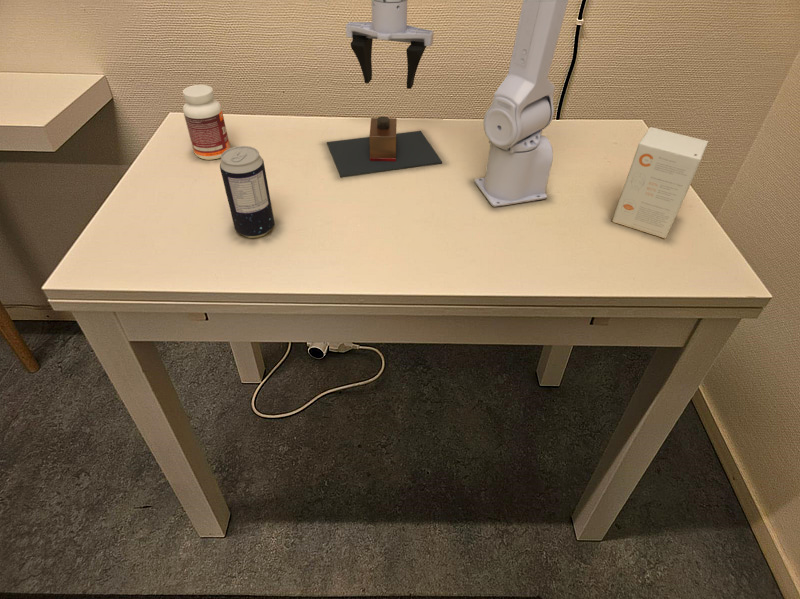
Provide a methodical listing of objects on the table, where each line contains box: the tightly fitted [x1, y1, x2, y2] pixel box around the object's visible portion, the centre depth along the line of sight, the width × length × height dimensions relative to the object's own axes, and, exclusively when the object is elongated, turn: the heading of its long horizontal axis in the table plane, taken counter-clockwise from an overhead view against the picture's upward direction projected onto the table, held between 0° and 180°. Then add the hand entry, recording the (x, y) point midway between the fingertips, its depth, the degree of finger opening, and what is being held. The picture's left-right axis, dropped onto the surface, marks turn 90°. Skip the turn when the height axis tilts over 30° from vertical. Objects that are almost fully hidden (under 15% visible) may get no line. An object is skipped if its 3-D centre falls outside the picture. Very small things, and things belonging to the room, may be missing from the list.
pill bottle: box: [182, 84, 231, 161], centre depth 90 cm, size 6×6×11 cm
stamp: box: [368, 115, 397, 161], centre depth 92 cm, size 4×7×6 cm, turn 0°
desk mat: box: [326, 130, 443, 178], centre depth 95 cm, size 18×12×1 cm, turn 107°
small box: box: [611, 126, 709, 239], centre depth 77 cm, size 8×6×13 cm
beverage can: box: [219, 145, 275, 239], centre depth 74 cm, size 6×6×12 cm
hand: (389, 83), depth 94 cm, fingers open, 7 cm apart
